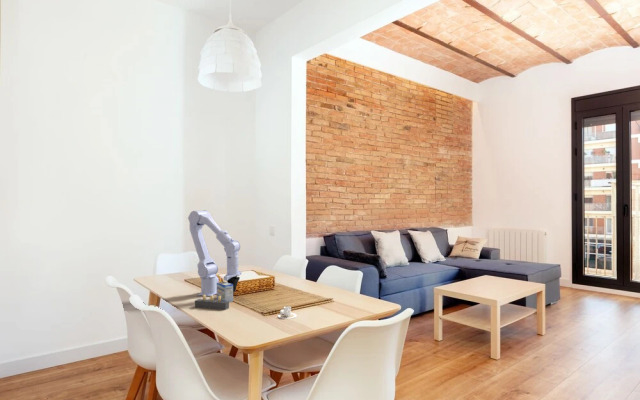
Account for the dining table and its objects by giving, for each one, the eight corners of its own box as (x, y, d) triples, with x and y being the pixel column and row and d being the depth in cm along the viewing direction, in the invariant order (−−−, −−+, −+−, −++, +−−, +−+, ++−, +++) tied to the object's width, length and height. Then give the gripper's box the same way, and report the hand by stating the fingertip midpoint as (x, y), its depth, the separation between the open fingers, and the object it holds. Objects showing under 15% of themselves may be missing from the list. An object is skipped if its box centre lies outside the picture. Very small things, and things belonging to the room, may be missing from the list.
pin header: (198, 305, 181) (198, 293, 180) (229, 307, 176) (228, 295, 176) (194, 307, 178) (194, 295, 178) (225, 309, 173) (225, 297, 173)
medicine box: (216, 300, 189) (216, 282, 189) (224, 298, 192) (224, 281, 192) (225, 303, 184) (225, 285, 183) (233, 301, 187) (233, 283, 187)
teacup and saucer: (279, 313, 169) (279, 304, 169) (297, 313, 168) (297, 304, 168) (276, 319, 160) (276, 310, 160) (295, 319, 160) (295, 310, 160)
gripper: (232, 268, 187) (232, 295, 187) (246, 262, 201) (246, 288, 201) (219, 267, 189) (220, 294, 189) (234, 262, 203) (234, 288, 203)
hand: (233, 291), depth 195 cm, fingers closed
